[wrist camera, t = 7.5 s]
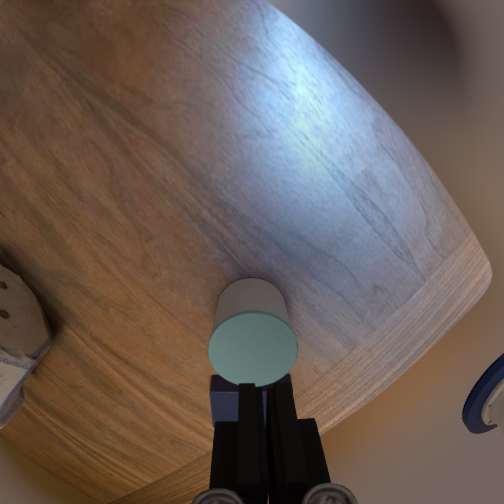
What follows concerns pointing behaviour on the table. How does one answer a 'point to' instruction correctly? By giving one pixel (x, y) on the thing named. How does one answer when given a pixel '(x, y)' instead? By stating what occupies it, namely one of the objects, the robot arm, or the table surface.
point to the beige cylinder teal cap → (252, 334)
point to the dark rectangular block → (231, 398)
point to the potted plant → (19, 340)
